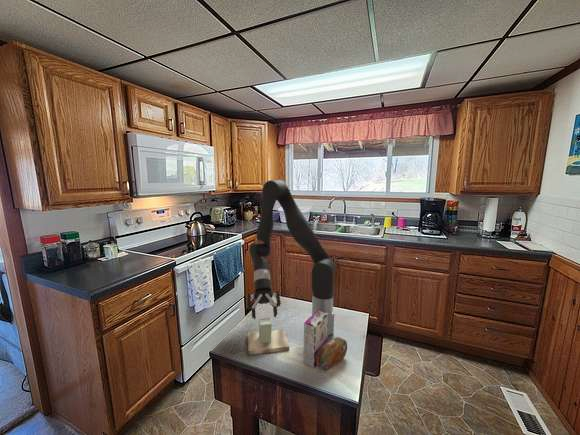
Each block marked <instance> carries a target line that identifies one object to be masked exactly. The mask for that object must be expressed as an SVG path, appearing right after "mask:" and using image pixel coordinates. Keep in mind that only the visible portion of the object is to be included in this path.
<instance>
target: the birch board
mask: <svg viewBox="0 0 580 435" xmlns="http://www.w3.org/2000/svg"><path fill="white" fill-rule="evenodd" d="M247 351H248V355H249V356H250V355H258V354H266V353H267V354H268V353H275V352H282V351H290V345H289V341H288V338H287V334H286V332H285V329H275V330H271V342H269V343H261V344H260V340H259V331H255V332H247Z"/></svg>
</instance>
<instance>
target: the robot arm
mask: <svg viewBox="0 0 580 435" xmlns="http://www.w3.org/2000/svg"><path fill="white" fill-rule="evenodd" d="M262 186H263V187H262V191H261V206H260V217H259V222H258V226H257V232H256V239H257V240H259V241H261V242H256V241H255V242H252V243H251V244H250V245H249V247H248V248H249V249H248V250H249V251H248V252H249V254H250V258H251V260H252V263H253V283H254V285H253V286H254V287H253V288H254V289H253V290H254V293H253V294H251V293H248V294H247V301H246V302H247V304H246V306H247V310H250V311H251V317H252V319H253V320H256V318H257V316H256V308H257V306H258V305H259V304H260V305H263V304H267V305H268V304H269V306H272V312H273V317H274V318H276V317H277V315H278V308H279V307H281V304H282V303H281V298H280V292H279V291H276V292H273V291H272V290H273V289H272V281H271V280H272V279H271V273H270V268H269V265H270V264H269V261H268V260H267V258H268V257H269V256H270V255H271V252H272V251H271V250H272V248H271V237H272V234H273V229H274V222H275V221H274V214H273V213H274V207H275V205H276V201H277V202H278V204H279V206H280V207H281V208H282V211H283V213H284V218H285V223H286V227H287V230H288V231H289V233H290V235H291V237H292V238H293V239H294V241H295V242H296V243H297V244H298V245H299V246H300V247H301V248H302V249H303V250H304V251H306V253H307V254H308V255H309V257H310V258H311V260H312V263H313V266H312V269H311V291H312V300H311V301H312V302H311V316H312V315H313V314H314V313H315V312H316V311H317V310H319V311H322V312H325V313H328V337H330V336H331V335H333V334H334V330H335V328H334V327H335V313H334V312H333V310H334V289H333V284H334V283H333V282H334V279H333V278H334V276H335V274H336V271H337V266H336V263H335V262H334V260H333V259H332V257H331V256H330V255H329V253H327V251H326V250H325V249H324V248H323V245H322V244H321V242H320V241H319V238H318V237H317V236H316V234H315V231H314V230H313V229H312V227H311V225H310V223H309V222H308V220H307V219H306V217H305V216H304V214H303V212H302V211H301V209H300V208H299V206H298V205H297V202H296V201H295V199H294V197H293V195H292V193H291V191H290V189H289V187H288V184H287V183H286V182H284V181H283V180H282V179H271V180H267V181H266V182H265V183H264V184H263V185H262ZM273 297H274V298H275V300H276V302H275V301H274V299H273ZM253 298H254V299H255V301H254V303H253V304H252V305H251V301H252V300H253Z"/></svg>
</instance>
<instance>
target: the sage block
mask: <svg viewBox="0 0 580 435" xmlns="http://www.w3.org/2000/svg"><path fill="white" fill-rule="evenodd" d="M271 331H272V321H271V318H270V317H267V318H258V332H259V340H260V344H261V343H269V342H271Z"/></svg>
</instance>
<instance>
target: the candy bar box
mask: <svg viewBox="0 0 580 435" xmlns="http://www.w3.org/2000/svg"><path fill="white" fill-rule="evenodd" d="M303 325H304V328H303V364H305V365H306V366H309V367H311V368H313V369H315V368H316V367H318V366H317V363H316V357H317V353H318V351H319V349H320V348H321V347H322V346H323V345H325V344H326V343H328V337H329V336H328V313H325V312H322V311H319V310H317V311H316V312H315V313H314V314H313V315H312V314H311V316H309V318H308V319H307V320H305V321H304V322H303Z"/></svg>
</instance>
